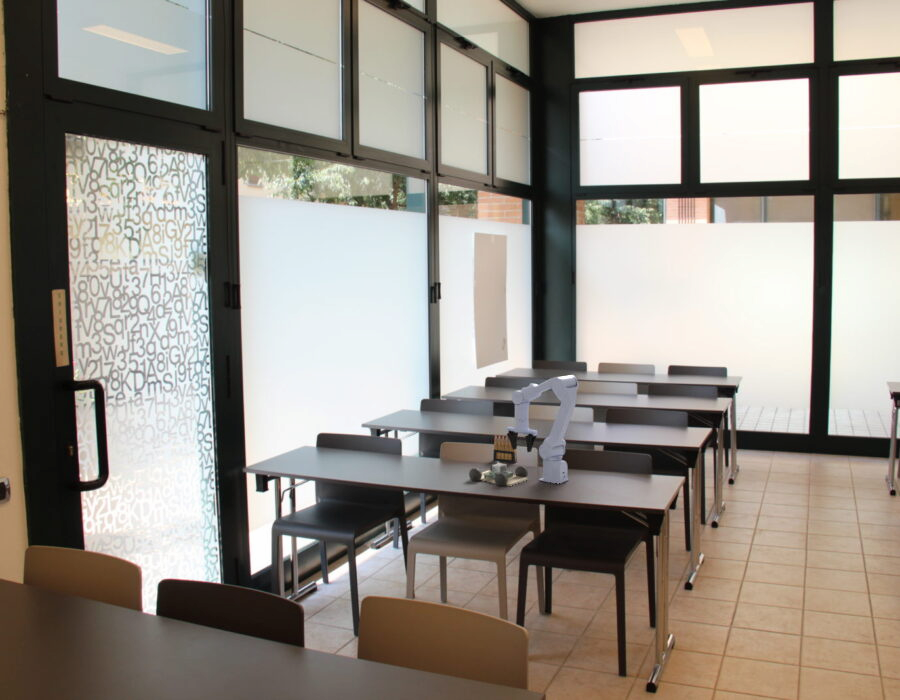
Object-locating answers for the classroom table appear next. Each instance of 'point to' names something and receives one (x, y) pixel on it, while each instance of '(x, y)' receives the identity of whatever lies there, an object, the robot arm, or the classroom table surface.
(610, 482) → the classroom table surface
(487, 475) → the chassis
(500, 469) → the engine block
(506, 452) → the ammunition clip
